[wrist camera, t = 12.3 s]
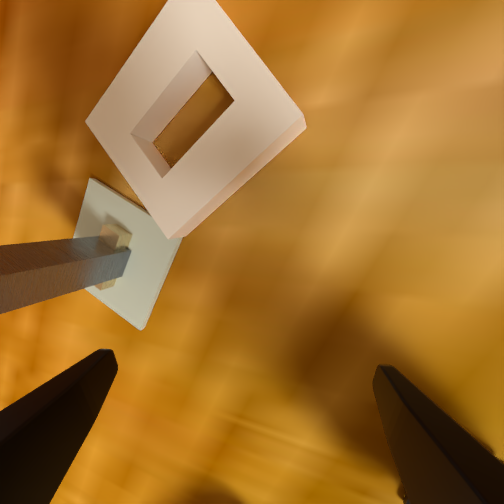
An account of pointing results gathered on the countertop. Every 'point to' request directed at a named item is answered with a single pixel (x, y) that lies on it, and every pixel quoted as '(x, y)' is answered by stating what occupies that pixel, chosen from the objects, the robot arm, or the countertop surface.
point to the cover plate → (174, 98)
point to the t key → (61, 266)
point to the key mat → (142, 252)
